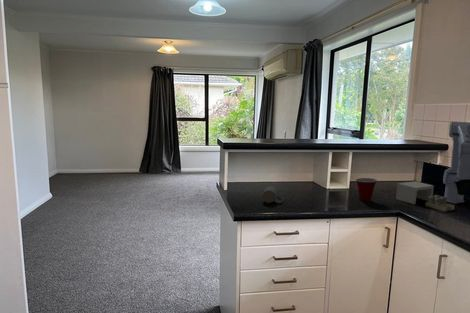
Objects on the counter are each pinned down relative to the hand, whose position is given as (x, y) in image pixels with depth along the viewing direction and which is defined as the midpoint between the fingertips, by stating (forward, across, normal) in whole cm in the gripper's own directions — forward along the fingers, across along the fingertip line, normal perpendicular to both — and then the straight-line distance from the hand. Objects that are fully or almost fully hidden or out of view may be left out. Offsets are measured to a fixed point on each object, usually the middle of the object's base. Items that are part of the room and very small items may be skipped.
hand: (461, 194), depth 156 cm
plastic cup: (+10, -26, +34) cm, 45 cm away
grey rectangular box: (+9, 0, +24) cm, 26 cm away
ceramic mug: (+10, -76, +51) cm, 92 cm away
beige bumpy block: (+10, 0, +10) cm, 14 cm away
